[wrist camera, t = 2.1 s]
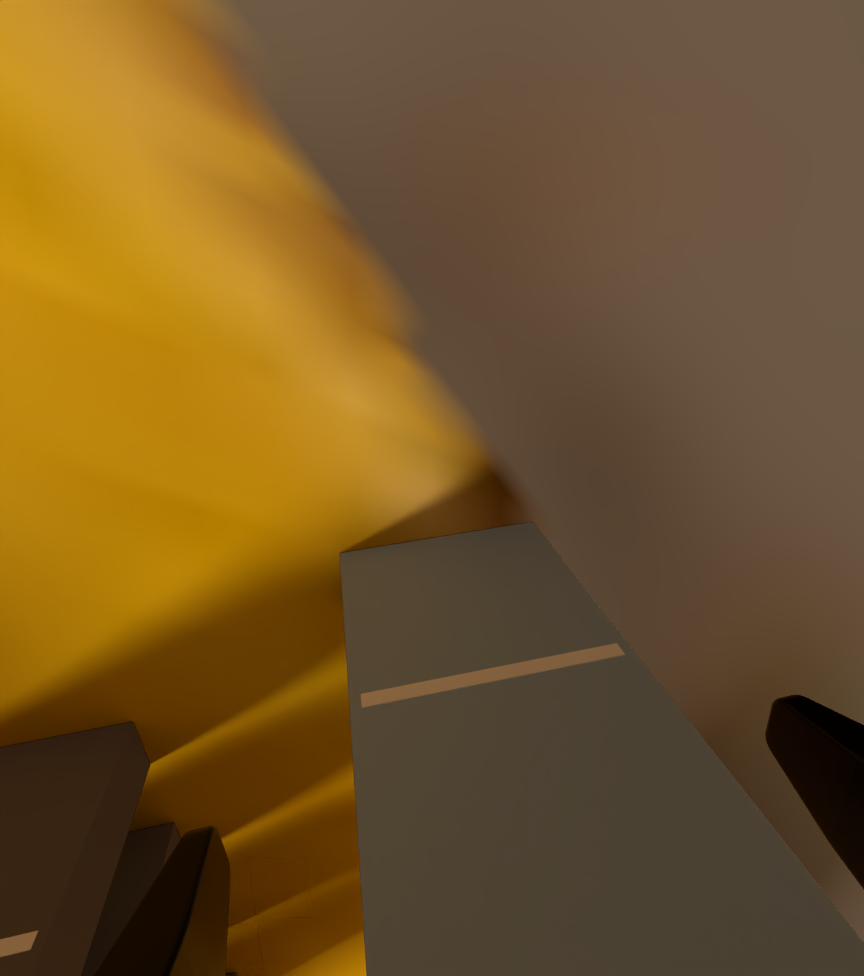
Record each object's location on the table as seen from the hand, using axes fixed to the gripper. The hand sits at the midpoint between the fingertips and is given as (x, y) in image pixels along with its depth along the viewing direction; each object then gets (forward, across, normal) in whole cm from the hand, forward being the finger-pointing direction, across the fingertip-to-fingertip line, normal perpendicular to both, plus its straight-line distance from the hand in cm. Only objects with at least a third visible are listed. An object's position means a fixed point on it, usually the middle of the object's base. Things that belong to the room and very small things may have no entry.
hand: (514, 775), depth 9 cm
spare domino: (+6, 0, 0) cm, 6 cm away
